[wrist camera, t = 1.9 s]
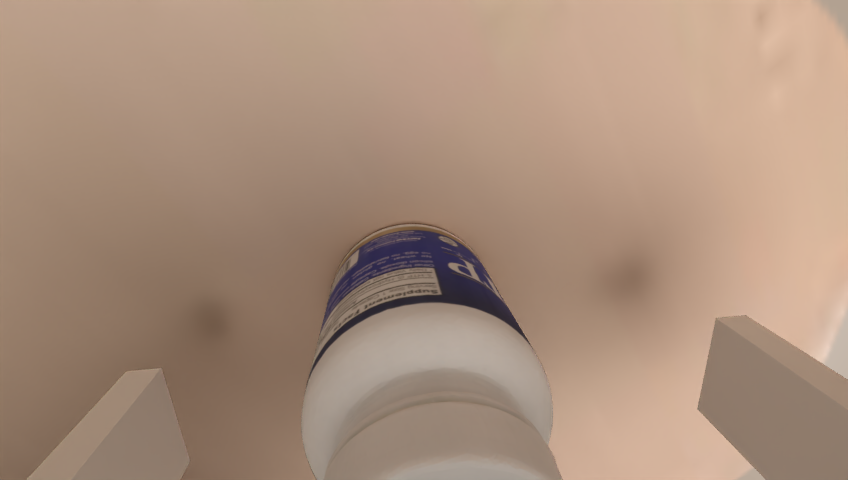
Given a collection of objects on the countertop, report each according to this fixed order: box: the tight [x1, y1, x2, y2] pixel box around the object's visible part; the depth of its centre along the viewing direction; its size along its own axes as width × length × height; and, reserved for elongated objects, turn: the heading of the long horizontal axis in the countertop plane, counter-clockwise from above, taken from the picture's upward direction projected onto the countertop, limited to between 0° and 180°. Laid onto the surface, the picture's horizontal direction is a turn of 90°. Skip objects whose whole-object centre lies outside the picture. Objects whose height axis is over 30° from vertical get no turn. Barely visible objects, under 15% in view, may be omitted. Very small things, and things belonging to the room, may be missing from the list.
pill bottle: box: [301, 224, 563, 480], centre depth 10 cm, size 5×5×9 cm
